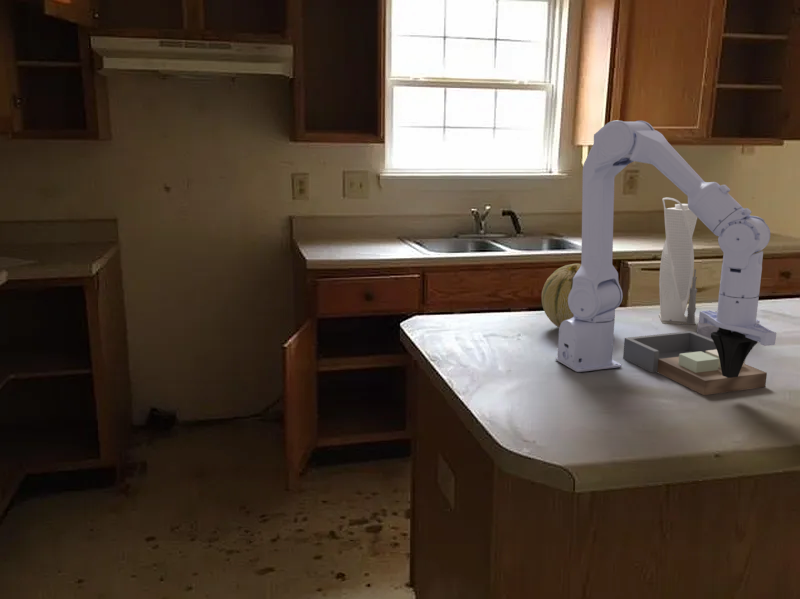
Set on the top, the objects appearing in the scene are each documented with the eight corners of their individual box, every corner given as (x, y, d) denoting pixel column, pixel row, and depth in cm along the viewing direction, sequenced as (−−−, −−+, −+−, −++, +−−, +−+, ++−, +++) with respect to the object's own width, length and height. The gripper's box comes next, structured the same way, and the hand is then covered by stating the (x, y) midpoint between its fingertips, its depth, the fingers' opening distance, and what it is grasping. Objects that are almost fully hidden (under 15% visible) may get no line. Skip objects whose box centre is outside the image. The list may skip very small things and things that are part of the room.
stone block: (755, 341, 154) (708, 325, 160) (762, 321, 152) (714, 305, 158) (740, 357, 145) (691, 339, 151) (747, 335, 144) (697, 318, 149)
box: (652, 372, 129) (654, 351, 128) (623, 358, 137) (624, 337, 136) (721, 364, 133) (723, 343, 132) (689, 350, 142) (690, 331, 141)
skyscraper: (655, 324, 162) (665, 198, 156) (651, 315, 170) (660, 195, 163) (695, 326, 160) (707, 199, 154) (689, 317, 168) (700, 196, 161)
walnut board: (703, 395, 118) (705, 380, 118) (657, 372, 129) (658, 359, 129) (765, 386, 122) (766, 372, 121) (715, 365, 133) (716, 352, 132)
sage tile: (695, 372, 121) (696, 361, 121) (678, 364, 126) (679, 353, 125) (717, 370, 123) (719, 358, 122) (699, 362, 127) (700, 351, 126)
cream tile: (722, 369, 123) (723, 358, 123) (704, 361, 127) (705, 350, 127) (744, 366, 124) (745, 355, 124) (725, 359, 128) (726, 348, 128)
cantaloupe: (606, 322, 162) (610, 257, 159) (613, 341, 148) (618, 269, 145) (539, 320, 165) (542, 255, 161) (540, 338, 151) (543, 267, 147)
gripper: (796, 302, 108) (785, 388, 111) (726, 283, 122) (718, 360, 125) (758, 306, 106) (748, 393, 109) (691, 286, 120) (684, 364, 123)
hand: (730, 376), depth 117 cm, fingers closed
